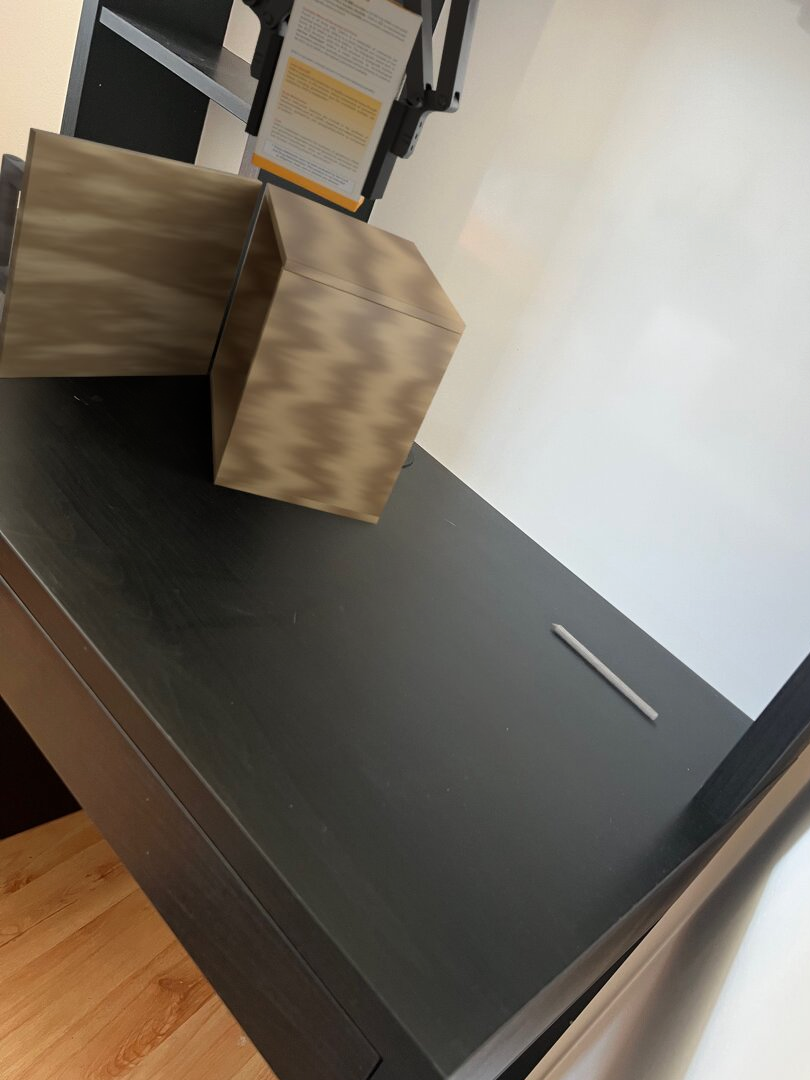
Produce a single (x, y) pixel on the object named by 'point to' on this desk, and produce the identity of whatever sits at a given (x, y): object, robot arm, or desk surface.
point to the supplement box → (334, 93)
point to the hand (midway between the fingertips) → (314, 165)
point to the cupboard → (326, 359)
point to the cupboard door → (115, 259)
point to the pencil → (606, 672)
